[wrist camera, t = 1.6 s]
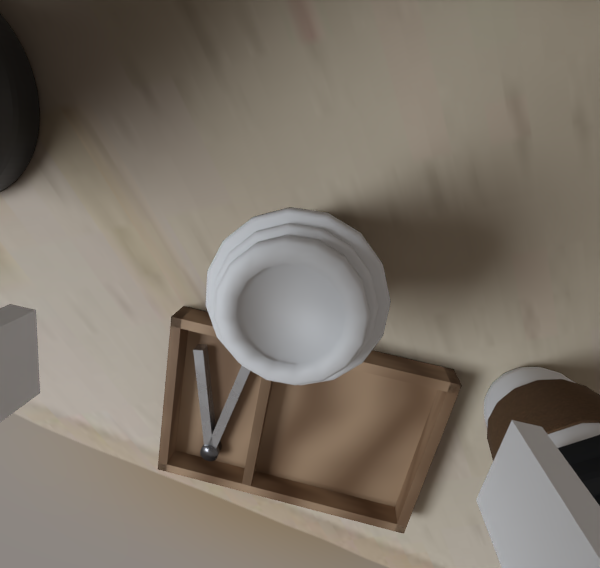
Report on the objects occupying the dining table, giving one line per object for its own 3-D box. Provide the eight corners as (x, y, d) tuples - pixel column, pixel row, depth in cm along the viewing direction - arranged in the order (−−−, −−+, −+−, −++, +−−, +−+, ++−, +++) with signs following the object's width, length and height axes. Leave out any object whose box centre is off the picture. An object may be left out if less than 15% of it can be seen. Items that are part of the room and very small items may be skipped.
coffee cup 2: (424, 387, 30) (469, 522, 19) (553, 308, 27) (701, 413, 16) (502, 478, 32) (586, 653, 20) (632, 414, 29) (817, 579, 17)
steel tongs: (238, 458, 34) (234, 467, 33) (186, 445, 34) (181, 453, 33) (256, 356, 31) (253, 363, 30) (198, 342, 31) (192, 348, 30)
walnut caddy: (169, 451, 35) (157, 469, 33) (183, 306, 31) (171, 316, 29) (400, 511, 34) (403, 533, 32) (453, 369, 29) (461, 385, 27)
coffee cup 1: (376, 188, 26) (396, 208, 15) (376, 311, 29) (394, 408, 17) (247, 195, 27) (175, 218, 16) (259, 313, 30) (205, 404, 19)
